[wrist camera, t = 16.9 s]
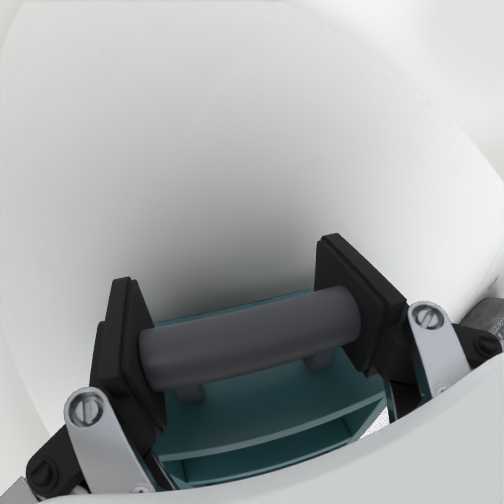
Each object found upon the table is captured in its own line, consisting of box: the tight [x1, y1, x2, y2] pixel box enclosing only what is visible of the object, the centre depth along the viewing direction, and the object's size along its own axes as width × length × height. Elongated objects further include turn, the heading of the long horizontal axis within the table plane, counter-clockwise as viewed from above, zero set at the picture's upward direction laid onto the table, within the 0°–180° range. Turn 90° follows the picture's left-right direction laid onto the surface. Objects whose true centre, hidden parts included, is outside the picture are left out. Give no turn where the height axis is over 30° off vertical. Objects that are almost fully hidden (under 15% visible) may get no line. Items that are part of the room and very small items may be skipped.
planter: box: [459, 298, 504, 341], centre depth 20 cm, size 12×12×13 cm
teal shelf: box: [138, 285, 387, 490], centre depth 12 cm, size 15×10×6 cm, turn 4°
